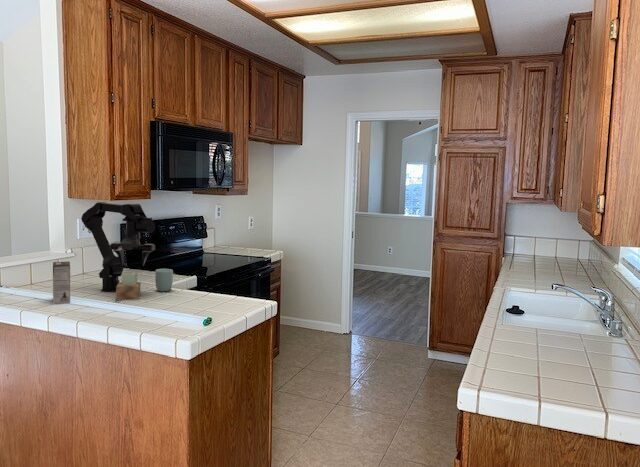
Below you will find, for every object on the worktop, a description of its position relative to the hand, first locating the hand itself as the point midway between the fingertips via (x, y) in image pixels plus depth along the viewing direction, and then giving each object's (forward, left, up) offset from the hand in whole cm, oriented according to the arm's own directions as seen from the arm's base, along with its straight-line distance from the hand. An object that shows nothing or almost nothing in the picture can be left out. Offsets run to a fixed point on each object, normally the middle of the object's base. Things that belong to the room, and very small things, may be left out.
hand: (132, 265), depth 222 cm
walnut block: (+1, -7, -13) cm, 15 cm away
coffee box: (-23, -18, -13) cm, 32 cm away
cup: (+12, +8, -13) cm, 20 cm away
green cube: (+1, -7, -7) cm, 10 cm away
